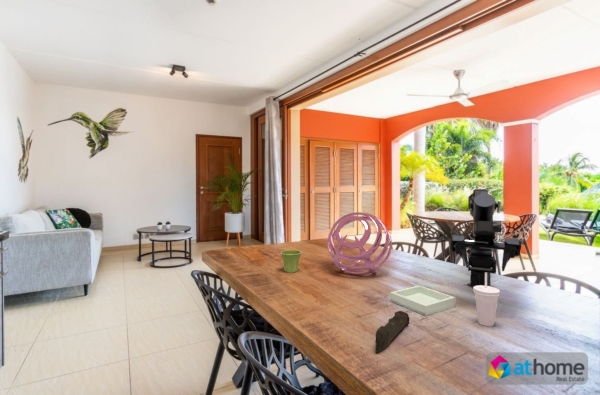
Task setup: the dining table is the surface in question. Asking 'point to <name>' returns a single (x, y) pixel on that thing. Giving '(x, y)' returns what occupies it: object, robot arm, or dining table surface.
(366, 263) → the pink openwork sphere
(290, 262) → the plant pot
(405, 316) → the hand tool
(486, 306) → the smoothie
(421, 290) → the sage tray
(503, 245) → the robot arm
